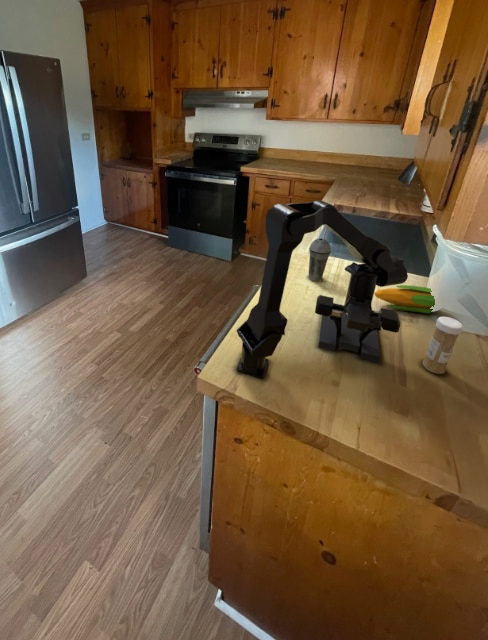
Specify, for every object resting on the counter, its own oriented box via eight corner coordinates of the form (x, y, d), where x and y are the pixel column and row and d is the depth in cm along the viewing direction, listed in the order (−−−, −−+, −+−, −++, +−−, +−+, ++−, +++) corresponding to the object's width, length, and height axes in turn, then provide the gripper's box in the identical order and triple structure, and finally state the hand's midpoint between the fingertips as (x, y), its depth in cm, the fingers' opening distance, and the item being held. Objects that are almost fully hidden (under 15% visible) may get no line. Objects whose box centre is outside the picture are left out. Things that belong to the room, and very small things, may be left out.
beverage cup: (300, 275, 123) (308, 224, 115) (316, 272, 125) (325, 223, 117) (312, 284, 116) (322, 232, 109) (329, 281, 118) (340, 229, 111)
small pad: (358, 352, 83) (359, 346, 82) (338, 347, 85) (340, 341, 84) (357, 338, 88) (359, 332, 87) (339, 334, 90) (340, 328, 89)
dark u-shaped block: (378, 363, 81) (380, 357, 80) (318, 347, 86) (319, 340, 85) (373, 322, 96) (375, 317, 95) (322, 311, 101) (323, 305, 101)
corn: (456, 296, 95) (380, 287, 99) (449, 319, 97) (375, 310, 102) (444, 285, 102) (373, 277, 106) (437, 307, 104) (369, 298, 109)
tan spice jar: (445, 377, 77) (464, 330, 72) (421, 369, 79) (438, 323, 74) (444, 365, 80) (462, 320, 75) (421, 358, 83) (437, 313, 77)
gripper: (318, 295, 77) (308, 348, 83) (411, 315, 70) (393, 372, 76) (321, 274, 86) (312, 324, 92) (403, 290, 79) (388, 342, 85)
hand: (348, 339), depth 86 cm, fingers closed on small pad, 4 cm apart
